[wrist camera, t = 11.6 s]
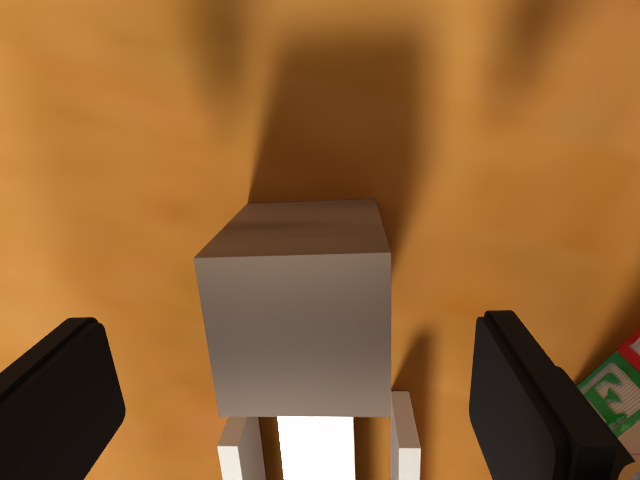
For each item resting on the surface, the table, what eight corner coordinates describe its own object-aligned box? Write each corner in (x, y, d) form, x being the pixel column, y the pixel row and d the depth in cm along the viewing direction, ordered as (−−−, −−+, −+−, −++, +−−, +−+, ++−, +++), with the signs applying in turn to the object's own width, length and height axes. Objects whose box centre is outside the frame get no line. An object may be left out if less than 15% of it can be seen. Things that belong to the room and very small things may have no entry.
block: (376, 314, 17) (390, 417, 12) (260, 315, 18) (219, 416, 12) (375, 198, 16) (391, 252, 10) (247, 203, 16) (193, 257, 10)
